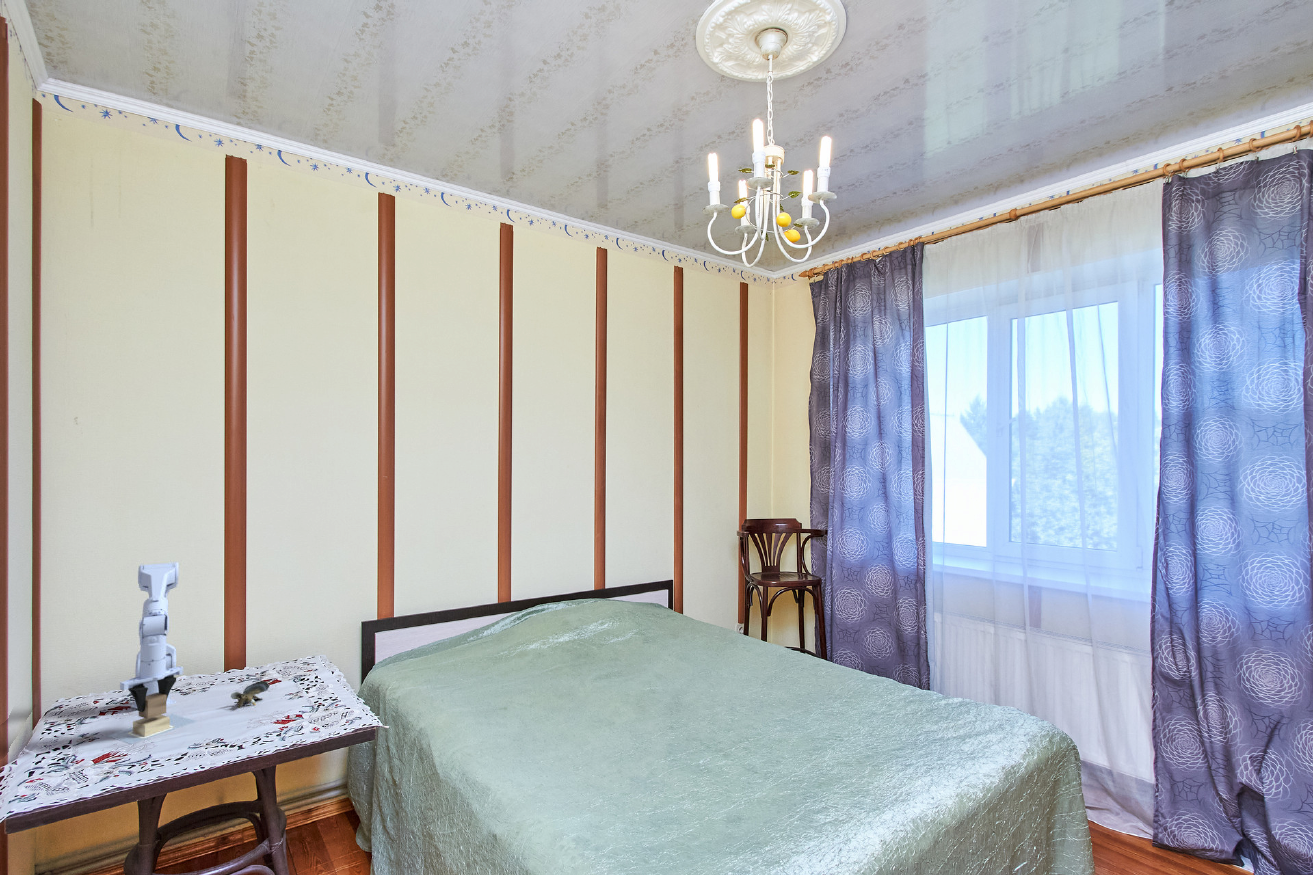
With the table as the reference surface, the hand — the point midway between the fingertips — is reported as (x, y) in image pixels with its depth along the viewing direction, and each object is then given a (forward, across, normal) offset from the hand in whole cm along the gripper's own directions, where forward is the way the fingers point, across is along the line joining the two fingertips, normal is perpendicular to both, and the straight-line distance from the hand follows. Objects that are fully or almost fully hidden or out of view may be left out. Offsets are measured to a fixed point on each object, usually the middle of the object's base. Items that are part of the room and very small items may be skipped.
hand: (151, 707), depth 174 cm
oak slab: (+6, 0, 0) cm, 6 cm away
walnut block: (+2, 0, 0) cm, 2 cm away
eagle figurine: (+7, +24, -6) cm, 26 cm away
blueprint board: (+7, +1, +1) cm, 7 cm away
